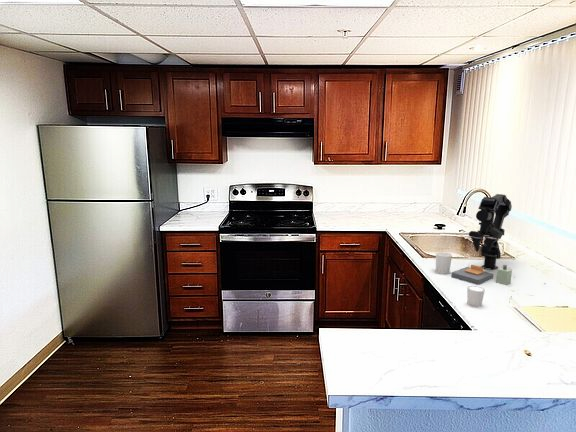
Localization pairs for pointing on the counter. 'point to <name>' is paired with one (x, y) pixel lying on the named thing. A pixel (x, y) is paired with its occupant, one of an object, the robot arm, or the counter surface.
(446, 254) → the white cup
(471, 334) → the counter surface
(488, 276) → the socket
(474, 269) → the shutter
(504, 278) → the plug
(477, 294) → the shot glass
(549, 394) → the counter surface
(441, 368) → the counter surface
